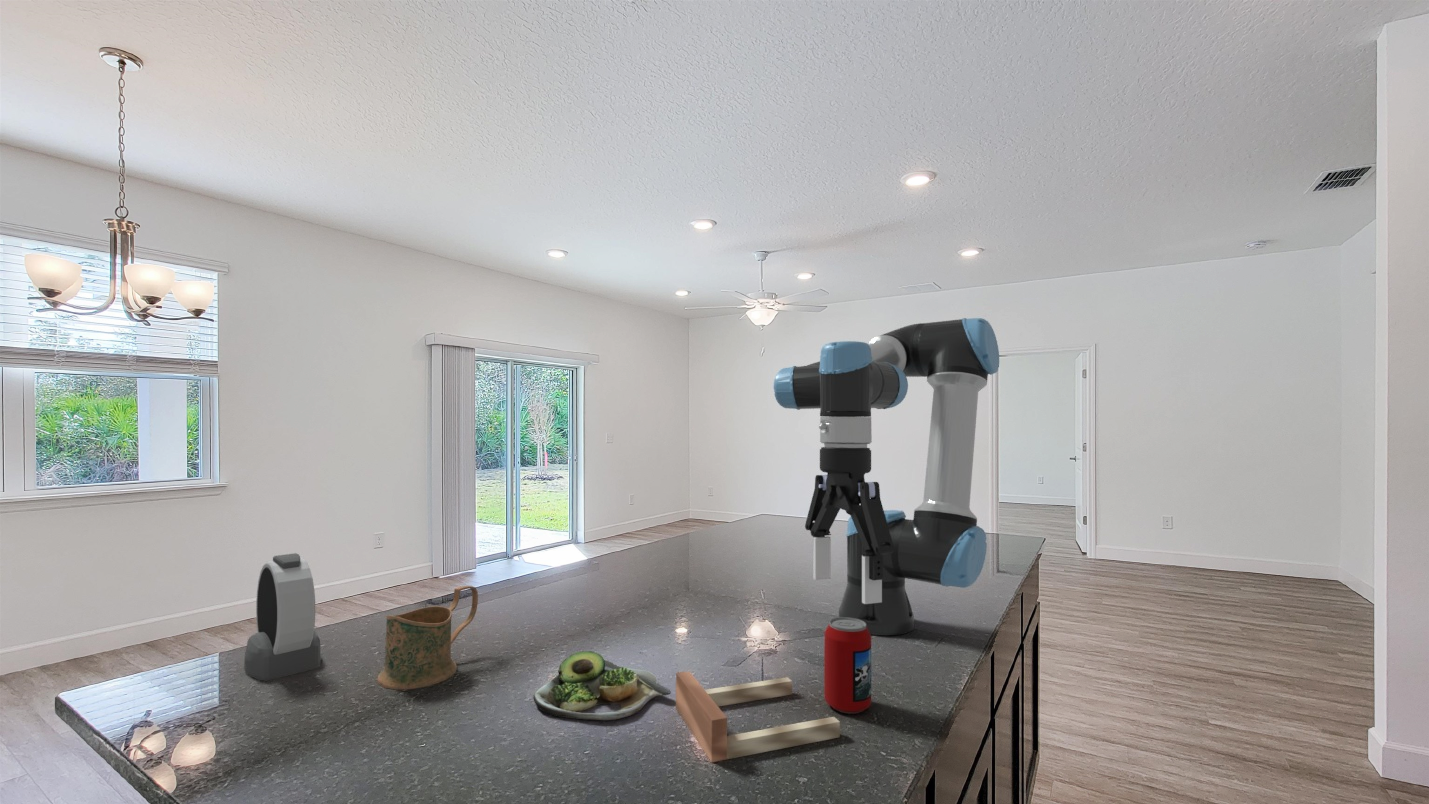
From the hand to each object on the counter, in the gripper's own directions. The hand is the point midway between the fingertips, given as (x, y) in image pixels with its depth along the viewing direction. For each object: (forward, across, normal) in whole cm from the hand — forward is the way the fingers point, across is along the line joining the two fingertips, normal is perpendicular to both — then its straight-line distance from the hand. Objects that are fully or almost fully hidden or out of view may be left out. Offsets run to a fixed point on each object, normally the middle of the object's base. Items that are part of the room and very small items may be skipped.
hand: (845, 589), depth 90 cm
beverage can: (+17, 0, 0) cm, 17 cm away
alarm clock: (+17, -44, -82) cm, 95 cm away
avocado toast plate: (+17, -16, -34) cm, 41 cm away
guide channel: (+17, 0, -15) cm, 22 cm away
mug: (+17, -34, -58) cm, 69 cm away
